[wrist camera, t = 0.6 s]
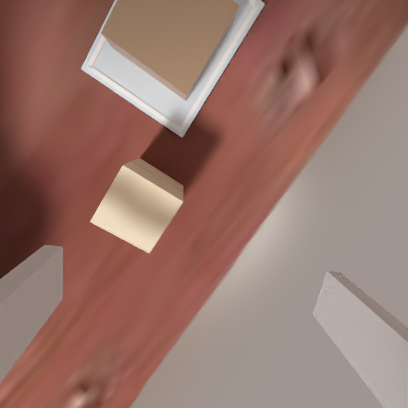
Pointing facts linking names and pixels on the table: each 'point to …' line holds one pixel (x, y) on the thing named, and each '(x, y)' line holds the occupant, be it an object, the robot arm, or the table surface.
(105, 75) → the white tray
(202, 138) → the table surface
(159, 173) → the maple block
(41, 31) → the table surface
